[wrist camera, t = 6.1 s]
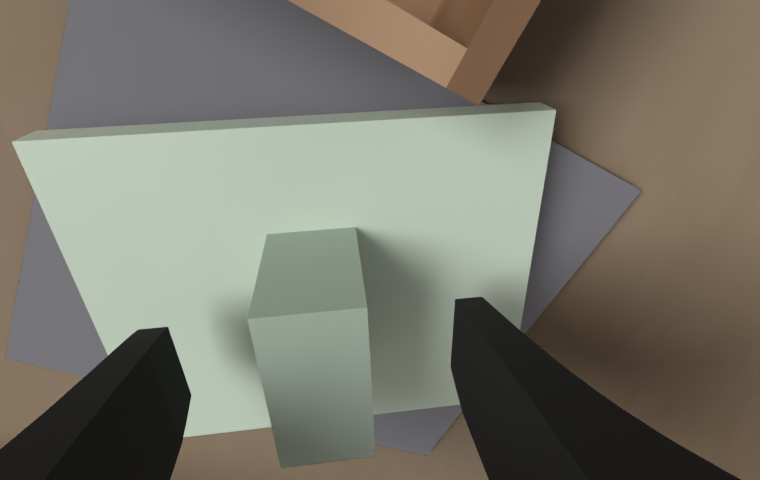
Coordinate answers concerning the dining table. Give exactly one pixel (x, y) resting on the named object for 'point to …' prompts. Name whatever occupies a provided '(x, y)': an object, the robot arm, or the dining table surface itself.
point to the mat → (260, 100)
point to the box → (435, 35)
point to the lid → (300, 254)
